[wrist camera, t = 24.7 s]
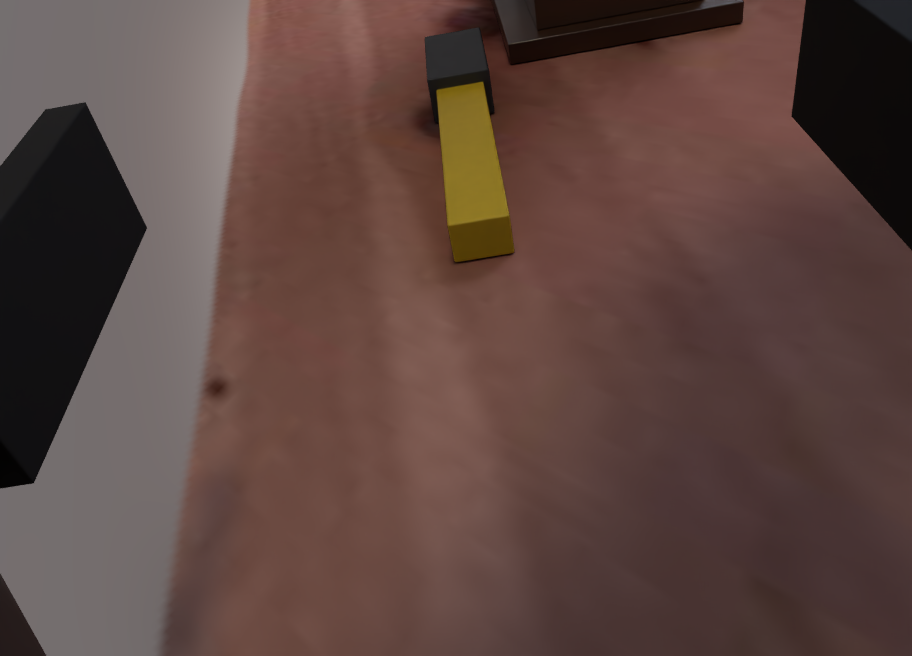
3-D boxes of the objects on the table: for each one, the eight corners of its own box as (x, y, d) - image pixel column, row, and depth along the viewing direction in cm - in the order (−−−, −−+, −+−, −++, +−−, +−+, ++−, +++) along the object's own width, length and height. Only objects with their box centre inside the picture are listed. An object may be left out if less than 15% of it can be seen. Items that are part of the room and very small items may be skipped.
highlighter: (524, 252, 26) (517, 200, 25) (445, 264, 26) (435, 213, 25) (485, 68, 38) (479, 26, 36) (431, 77, 38) (424, 36, 37)
